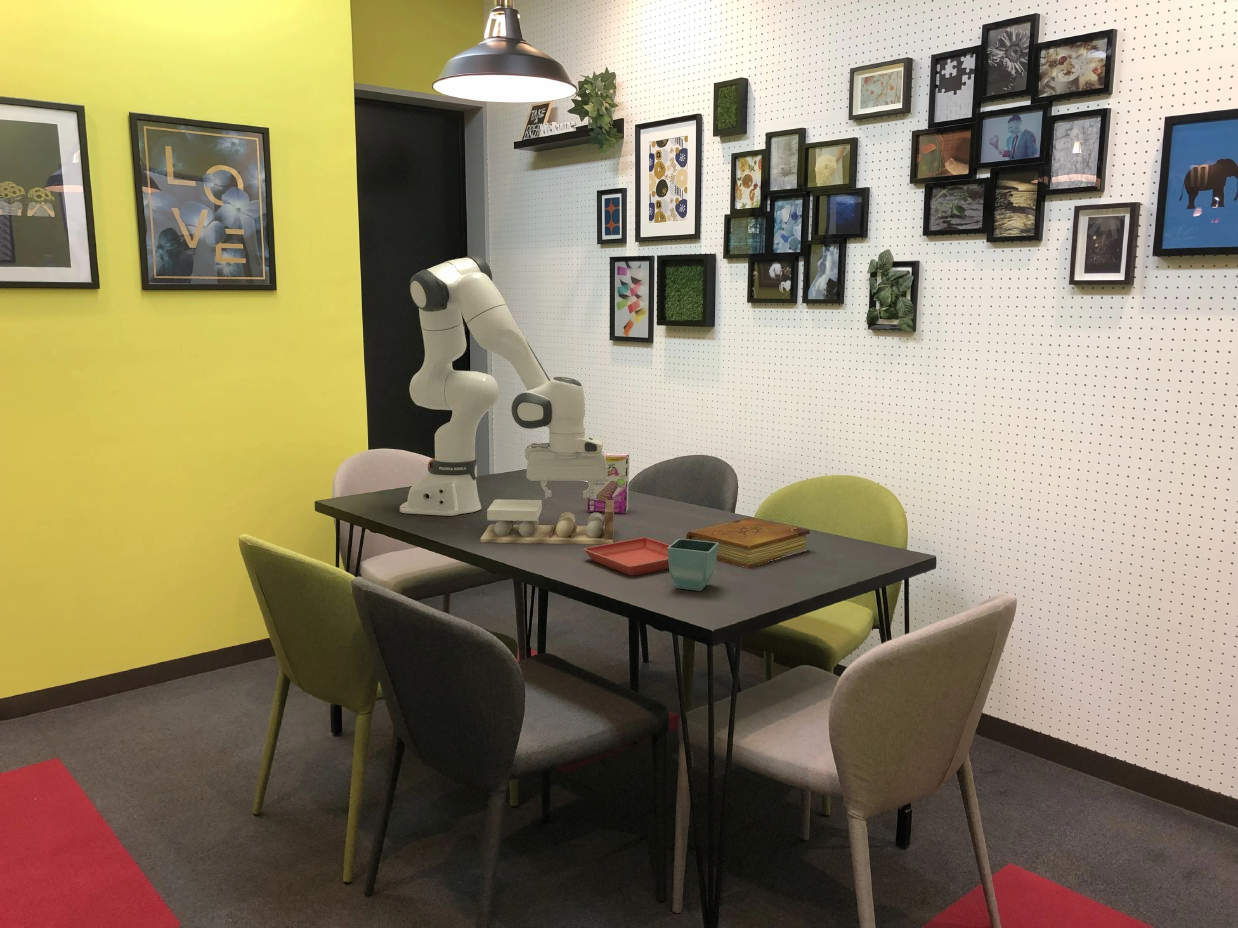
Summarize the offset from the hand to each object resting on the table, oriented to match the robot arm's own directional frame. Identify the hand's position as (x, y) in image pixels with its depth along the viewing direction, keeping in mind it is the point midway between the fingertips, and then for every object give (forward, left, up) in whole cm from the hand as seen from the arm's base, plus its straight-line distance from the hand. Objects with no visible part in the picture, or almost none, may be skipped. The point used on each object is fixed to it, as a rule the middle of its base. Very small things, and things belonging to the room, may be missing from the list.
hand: (567, 497), depth 232 cm
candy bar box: (+10, +29, -10) cm, 32 cm away
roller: (-1, -1, -8) cm, 9 cm away
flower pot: (+29, -43, -10) cm, 53 cm away
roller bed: (-4, -1, -10) cm, 11 cm away
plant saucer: (+18, -25, -10) cm, 32 cm away
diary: (+44, -13, -10) cm, 47 cm away
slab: (-13, -1, -4) cm, 14 cm away
